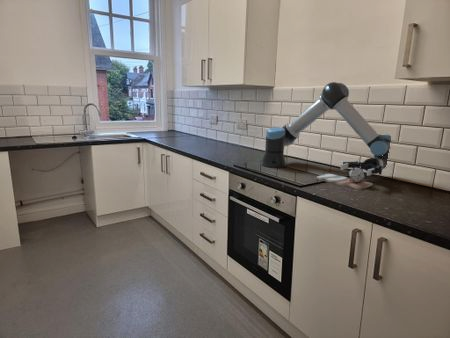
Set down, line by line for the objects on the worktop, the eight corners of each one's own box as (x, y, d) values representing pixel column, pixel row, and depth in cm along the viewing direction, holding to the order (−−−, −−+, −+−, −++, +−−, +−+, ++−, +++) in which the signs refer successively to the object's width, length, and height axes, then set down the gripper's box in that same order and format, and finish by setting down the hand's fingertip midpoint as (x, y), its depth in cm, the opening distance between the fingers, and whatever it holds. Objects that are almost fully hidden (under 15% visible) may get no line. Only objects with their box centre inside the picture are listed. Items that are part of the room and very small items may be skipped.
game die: (351, 188, 157) (350, 170, 161) (369, 185, 151) (367, 167, 155) (345, 182, 151) (343, 164, 155) (363, 179, 145) (361, 160, 149)
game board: (315, 178, 164) (315, 176, 163) (327, 175, 172) (328, 173, 172) (360, 189, 146) (360, 187, 145) (372, 185, 154) (372, 183, 154)
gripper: (396, 176, 156) (378, 182, 142) (350, 167, 174) (330, 172, 161) (398, 161, 154) (380, 167, 141) (351, 154, 173) (332, 158, 159)
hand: (354, 170), depth 151 cm, fingers open, 13 cm apart
